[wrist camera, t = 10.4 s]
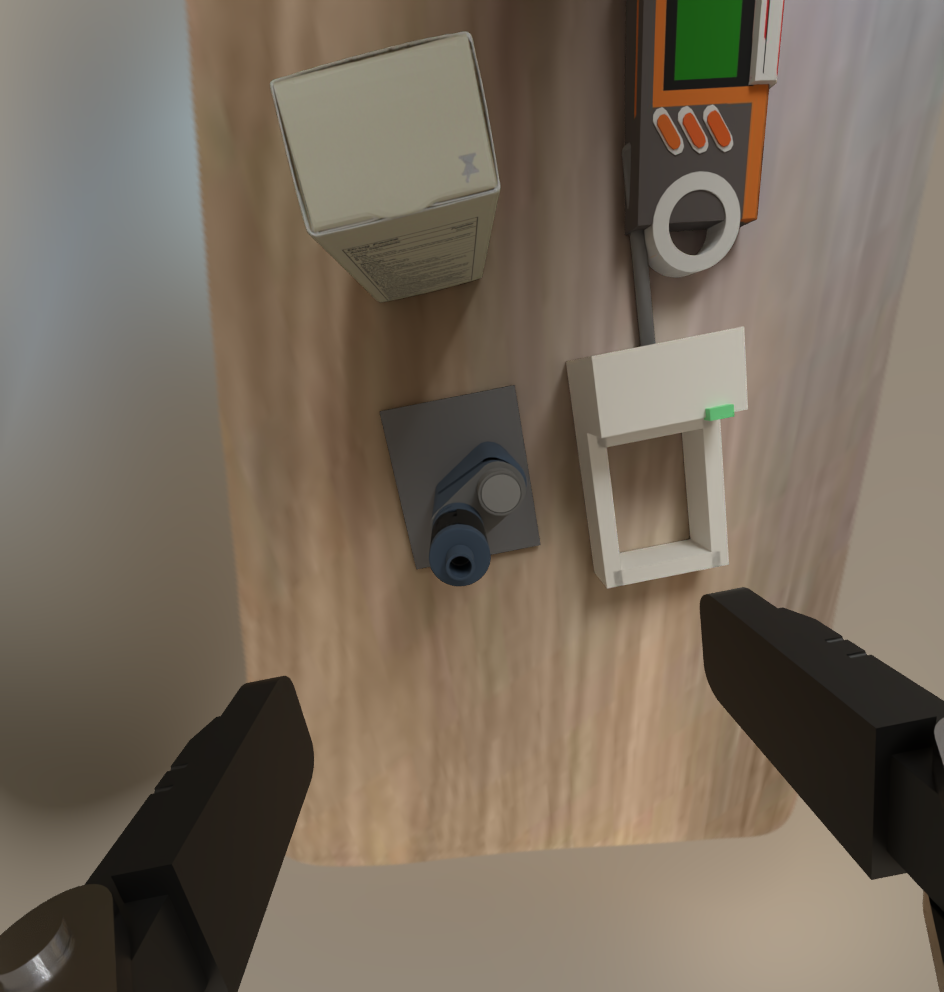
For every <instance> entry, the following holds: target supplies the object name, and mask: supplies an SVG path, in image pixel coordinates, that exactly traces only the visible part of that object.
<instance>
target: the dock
mask: <svg viewBox="0 0 944 992" xmlns="http://www.w3.org/2000/svg"><path fill="white" fill-rule="evenodd" d="M622 160H623V170H624V180H625V191H626V201H627V209H628V208H629V197H630V173H631V144H630V142H629V143H627V144H626V145H625V146H624V148H623V150H622ZM630 242H631V252H632V263H633V273H634V283H635V293H636V304H637V314H638V324H639V335H640V345H641V347H636V348H631V349H626V350H621V351H615V352H610V353H605V354H600V355H595V356H590V357H585V358H581V359H576V360H572V361H567V362H566V366H567V374H568V381H569V389H570V396H571V403H572V411H573V418H574V426H575V433H576V440H577V448H578V455H579V463H580V470H581V477H582V485H583V492H584V500H585V507H586V514H587V522H588V529H589V537H590V544H591V551H592V559H593V566H594V573H595V574H596V575H597V576H598V578H599V579H600V580H601V581H602V583H603V584H604V585H605V586H606V588H612V587H617V586H622V585H628V584H633V583H638V582H643V581H648V580H653V579H658V578H663V577H668V576H673V575H678V574H683V573H688V572H693V571H698V570H704V569H709V568H714V567H719V566H724V565H729V558H728V542H727V525H726V508H725V492H724V475H723V458H722V442H721V425H720V419H723V418H729V417H734V412H737V411H742V410H747V409H748V400H747V378H746V356H745V334H744V327H739V328H734V329H728V330H723V331H718V332H713V333H708V334H703V335H698V336H692V337H687V338H682V339H677V340H672V341H667V342H662V343H657V344H655V334H654V323H653V311H652V300H651V289H650V278H649V267H648V256H647V249H646V243H645V235H644V230H636V231H632V232H630ZM677 433H682V442H683V455H684V467H685V480H686V492H687V505H688V517H689V530H690V539H688V540H683V541H678V542H672V543H667V544H662V545H657V546H652V547H647V548H642V549H637V550H632V551H627V552H622V553H619V545H618V536H617V528H616V520H615V511H614V503H613V495H612V486H611V478H610V470H609V461H608V453H607V447H611V446H616V445H621V444H626V443H631V442H636V441H642V440H647V439H652V438H657V437H662V436H667V435H672V434H677Z"/></svg>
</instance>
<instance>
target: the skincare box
mask: <svg viewBox="0 0 944 992" xmlns="http://www.w3.org/2000/svg"><path fill="white" fill-rule="evenodd" d="M270 89H271V93H272V97H273V101H274V105H275V109H276V113H277V118H278V122H279V126H280V130H281V135H282V139H283V143H284V147H285V152H286V156H287V159H288V163H289V166H290V171H291V175H292V178H293V183H294V187H295V191H296V194H297V198H298V202H299V205H300V209H301V213H302V216H303V220H304V224H305V227H306V230H307V232H308V234H309V235H310V236H311V237H312V238H313V239H314V240H315V241H316V242H318V243H319V244H320V245H321V246H322V247H323V248H324V249H325V250H326V251H327V252H328V253H329V254H330V255H331V256H332V257H333V258H334V259H335V260H336V261H337V262H338V263H339V264H340V265H341V266H342V267H343V268H344V269H345V270H346V271H347V272H348V273H349V274H350V275H351V276H352V277H353V278H354V279H355V280H356V281H357V282H359V283H360V284H361V285H362V286H363V287H364V288H365V290H366V291H368V292H369V293H370V294H371V295H372V296H373V297H374V298H375V299H376V300H377V301H378V302H386V301H391V300H396V299H401V298H406V297H410V296H415V295H419V294H423V293H427V292H431V291H436V290H440V289H444V288H448V287H451V286H455V285H459V284H463V283H466V282H470V281H473V280H477V279H480V278H481V277H482V275H483V270H484V265H485V260H486V255H487V250H488V246H489V241H490V236H491V231H492V226H493V222H494V216H495V212H496V207H497V202H498V197H499V194H500V181H499V175H498V169H497V162H496V156H495V150H494V144H493V138H492V132H491V127H490V121H489V115H488V110H487V104H486V99H485V94H484V89H483V84H482V79H481V74H480V69H479V65H478V60H477V56H476V52H475V47H474V42H473V38H472V36H471V34H470V33H469V32H458V33H453V34H445V35H441V36H436V37H430V38H426V39H422V40H417V41H412V42H406V43H403V44H400V45H395V46H391V47H387V48H384V49H380V50H375V51H372V52H368V53H364V54H361V55H357V56H353V57H350V58H346V59H342V60H338V61H335V62H332V63H328V64H324V65H320V66H317V67H314V68H311V69H308V70H304V71H300V72H297V73H295V74H291V75H288V76H284V77H281V78H277V79H274V80H272V81H271V83H270Z"/></svg>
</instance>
